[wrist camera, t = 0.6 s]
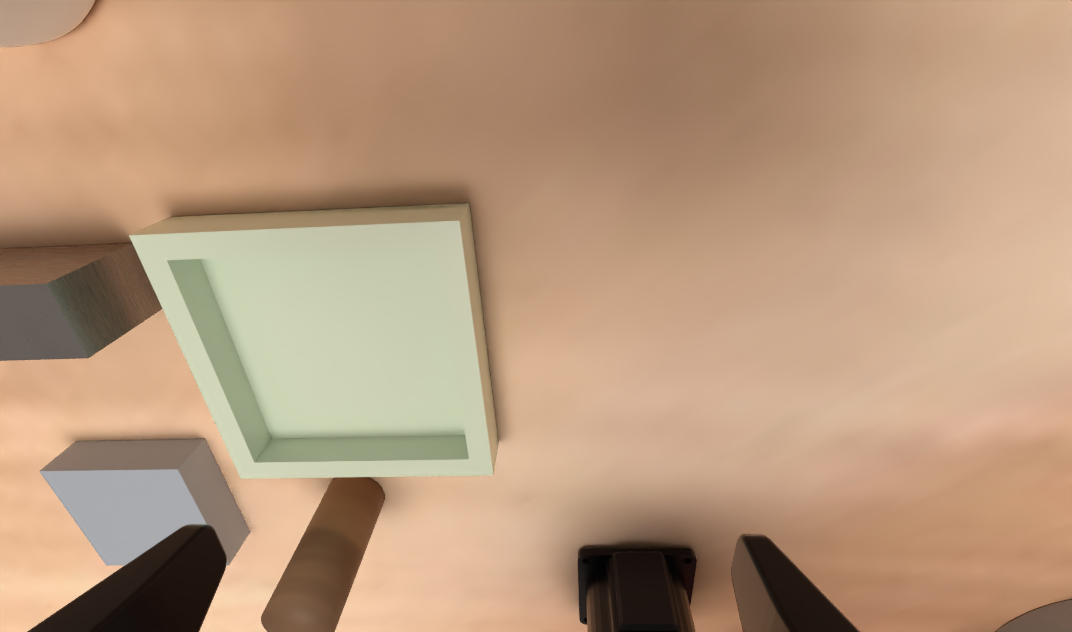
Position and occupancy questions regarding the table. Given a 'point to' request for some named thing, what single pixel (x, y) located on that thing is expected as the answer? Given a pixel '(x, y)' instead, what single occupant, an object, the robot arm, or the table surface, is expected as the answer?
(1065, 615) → the coffee mug
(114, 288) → the dark gray block
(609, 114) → the table surface
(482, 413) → the tray
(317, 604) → the dowel
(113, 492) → the board
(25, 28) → the pill bottle
